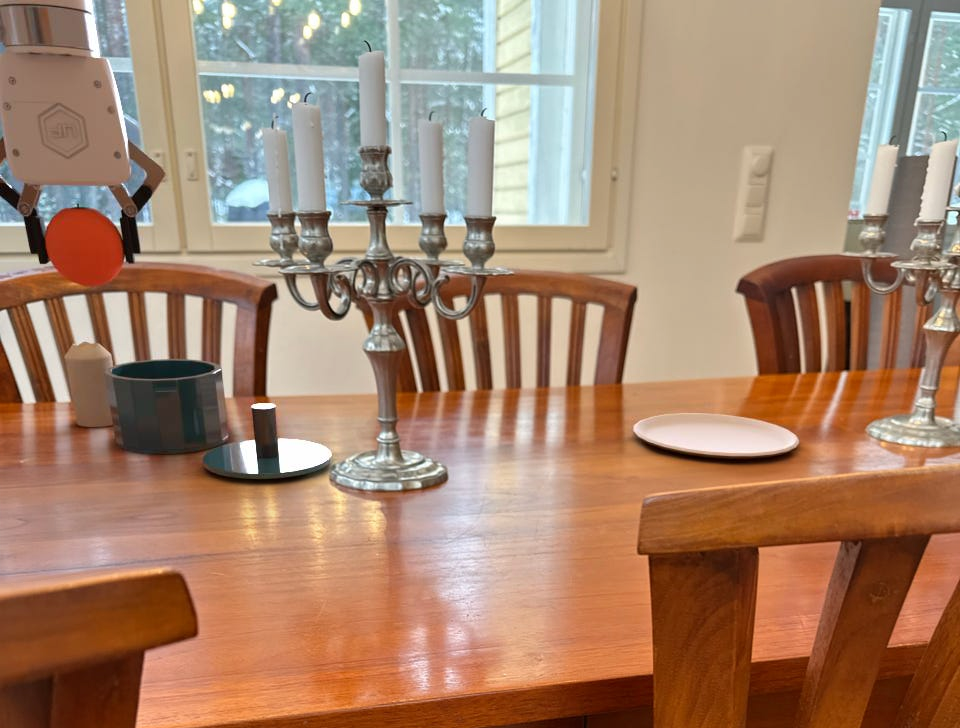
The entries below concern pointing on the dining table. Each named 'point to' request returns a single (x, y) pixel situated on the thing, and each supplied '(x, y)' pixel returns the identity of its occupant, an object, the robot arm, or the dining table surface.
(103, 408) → the candle
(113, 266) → the clementine
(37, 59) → the robot arm
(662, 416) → the plate
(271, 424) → the lid
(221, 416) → the pot
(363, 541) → the dining table surface
